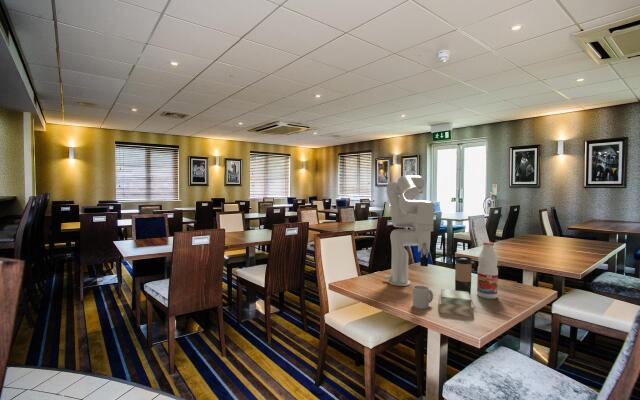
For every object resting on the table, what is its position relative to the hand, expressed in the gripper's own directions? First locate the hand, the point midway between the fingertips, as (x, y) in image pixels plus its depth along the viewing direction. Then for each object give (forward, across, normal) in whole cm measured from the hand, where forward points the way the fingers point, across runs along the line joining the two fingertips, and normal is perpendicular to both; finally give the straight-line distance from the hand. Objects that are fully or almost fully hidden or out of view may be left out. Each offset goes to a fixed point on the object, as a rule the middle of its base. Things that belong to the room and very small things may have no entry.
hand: (424, 263), depth 153 cm
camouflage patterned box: (+20, -1, +14) cm, 24 cm away
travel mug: (+20, -22, +19) cm, 35 cm away
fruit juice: (+20, -27, +31) cm, 46 cm away
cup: (+20, 0, 0) cm, 20 cm away
